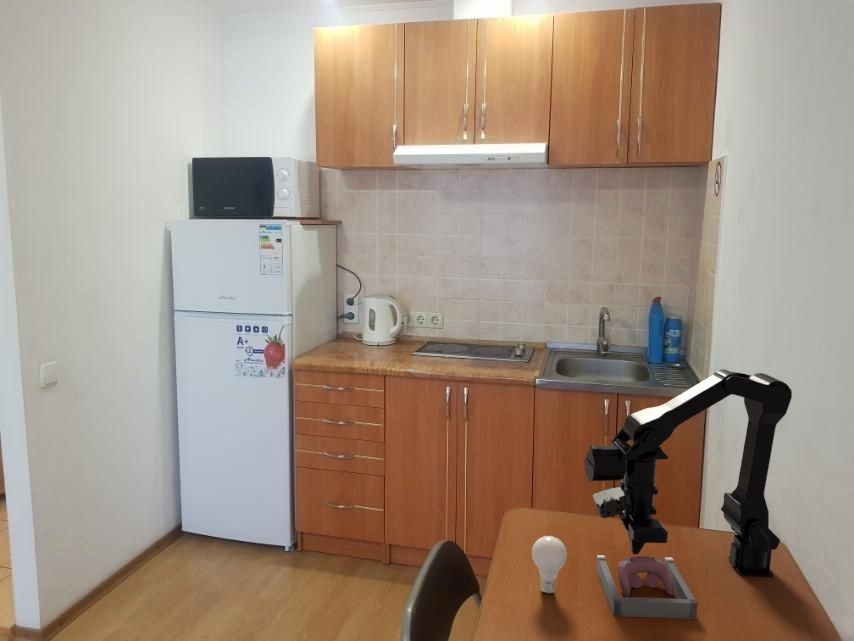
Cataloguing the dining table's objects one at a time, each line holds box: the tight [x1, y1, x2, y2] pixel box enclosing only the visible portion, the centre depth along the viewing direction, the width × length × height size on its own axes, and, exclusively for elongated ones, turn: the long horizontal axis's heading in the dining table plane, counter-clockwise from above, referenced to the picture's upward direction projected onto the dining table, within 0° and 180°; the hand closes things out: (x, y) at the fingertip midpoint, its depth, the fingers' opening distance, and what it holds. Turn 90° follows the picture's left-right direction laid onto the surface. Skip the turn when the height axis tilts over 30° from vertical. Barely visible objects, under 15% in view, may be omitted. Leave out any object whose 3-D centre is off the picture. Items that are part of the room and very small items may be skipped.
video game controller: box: [617, 555, 675, 597], centre depth 127 cm, size 10×5×7 cm, turn 93°
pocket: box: [596, 554, 698, 620], centre depth 125 cm, size 15×15×3 cm
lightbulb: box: [531, 535, 568, 594], centre depth 124 cm, size 6×6×11 cm
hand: (634, 553), depth 132 cm, fingers closed
